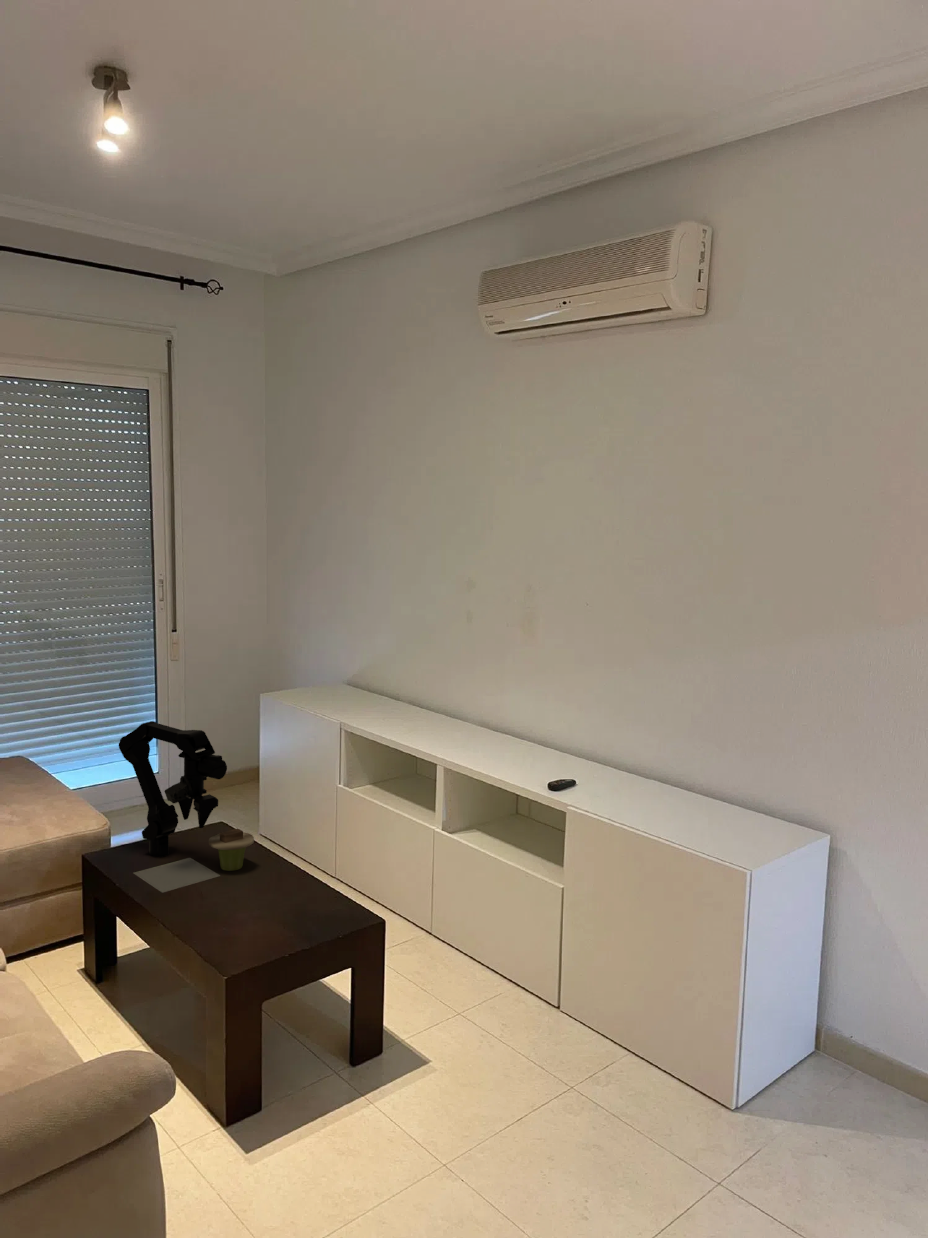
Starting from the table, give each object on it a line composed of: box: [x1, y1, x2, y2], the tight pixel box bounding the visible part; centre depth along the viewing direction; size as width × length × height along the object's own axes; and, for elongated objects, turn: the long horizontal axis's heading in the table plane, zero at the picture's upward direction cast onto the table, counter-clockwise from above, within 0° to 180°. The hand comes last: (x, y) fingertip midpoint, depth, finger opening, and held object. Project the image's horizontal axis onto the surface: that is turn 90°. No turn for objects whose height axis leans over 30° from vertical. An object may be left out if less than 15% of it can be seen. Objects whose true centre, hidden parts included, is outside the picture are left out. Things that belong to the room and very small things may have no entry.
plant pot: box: [217, 847, 247, 872], centre depth 269 cm, size 9×9×9 cm
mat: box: [133, 857, 221, 894], centre depth 262 cm, size 18×18×1 cm
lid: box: [208, 828, 255, 850], centre depth 268 cm, size 13×13×3 cm
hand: (193, 823), depth 270 cm, fingers open, 9 cm apart
